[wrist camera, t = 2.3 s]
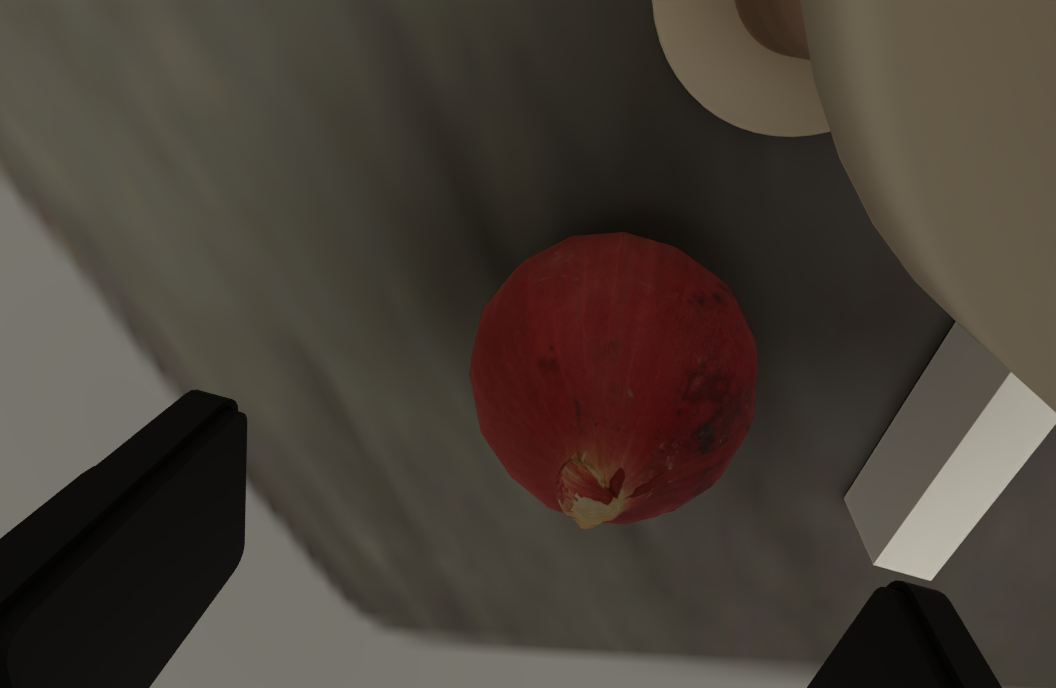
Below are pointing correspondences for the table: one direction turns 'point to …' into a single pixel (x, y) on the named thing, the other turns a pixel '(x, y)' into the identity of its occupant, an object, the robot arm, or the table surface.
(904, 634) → the robot arm
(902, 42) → the spool
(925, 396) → the notched board
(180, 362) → the table surface
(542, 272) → the pomegranate
